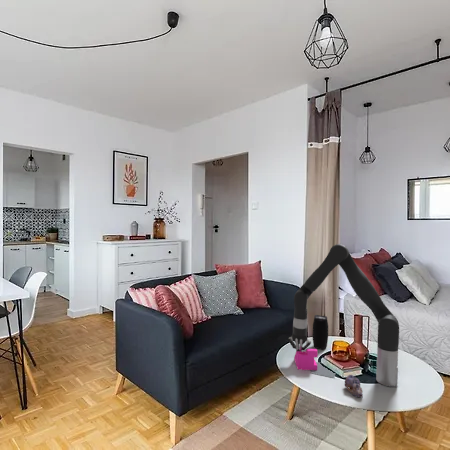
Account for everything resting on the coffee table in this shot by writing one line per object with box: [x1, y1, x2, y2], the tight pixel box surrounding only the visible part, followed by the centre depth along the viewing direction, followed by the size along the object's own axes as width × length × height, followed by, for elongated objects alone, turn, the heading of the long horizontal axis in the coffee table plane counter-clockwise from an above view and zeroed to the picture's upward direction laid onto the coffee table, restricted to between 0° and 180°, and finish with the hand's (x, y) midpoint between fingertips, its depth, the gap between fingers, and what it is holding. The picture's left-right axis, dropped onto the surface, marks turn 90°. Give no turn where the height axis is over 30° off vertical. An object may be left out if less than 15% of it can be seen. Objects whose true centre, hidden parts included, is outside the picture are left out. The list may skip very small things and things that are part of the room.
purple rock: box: [344, 374, 364, 399], centre depth 149 cm, size 12×8×6 cm, turn 173°
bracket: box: [293, 348, 319, 371], centre depth 176 cm, size 12×10×10 cm
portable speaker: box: [312, 314, 329, 351], centre depth 199 cm, size 9×9×20 cm
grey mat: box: [310, 361, 336, 379], centre depth 171 cm, size 12×14×1 cm
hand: (298, 356), depth 177 cm, fingers closed
